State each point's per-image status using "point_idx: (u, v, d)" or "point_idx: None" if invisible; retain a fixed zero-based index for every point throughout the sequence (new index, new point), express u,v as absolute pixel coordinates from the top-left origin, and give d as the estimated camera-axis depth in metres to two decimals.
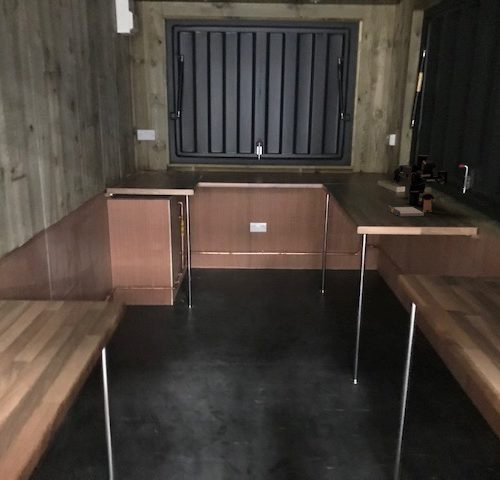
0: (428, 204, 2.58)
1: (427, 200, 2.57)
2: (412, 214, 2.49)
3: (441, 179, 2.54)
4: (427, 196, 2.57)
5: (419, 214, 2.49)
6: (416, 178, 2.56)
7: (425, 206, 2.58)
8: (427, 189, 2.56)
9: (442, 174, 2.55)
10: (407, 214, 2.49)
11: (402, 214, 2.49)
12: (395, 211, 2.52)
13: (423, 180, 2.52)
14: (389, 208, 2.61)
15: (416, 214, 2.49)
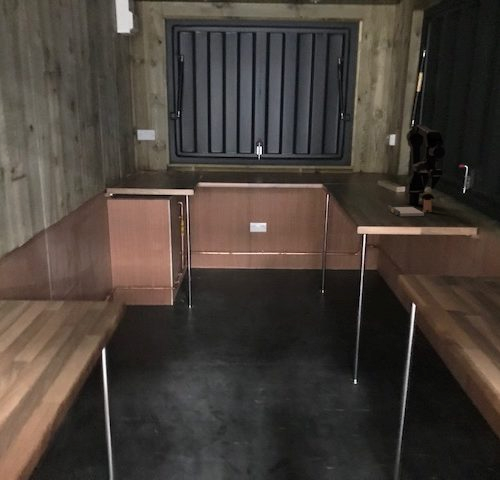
0: (428, 204, 2.58)
1: (427, 200, 2.57)
2: (412, 214, 2.49)
3: None
4: (427, 196, 2.57)
5: (419, 214, 2.49)
6: None
7: (425, 206, 2.58)
8: (427, 189, 2.56)
9: (430, 178, 2.49)
10: (407, 214, 2.49)
11: (402, 214, 2.49)
12: (395, 211, 2.52)
13: None
14: (389, 208, 2.61)
15: (416, 214, 2.49)
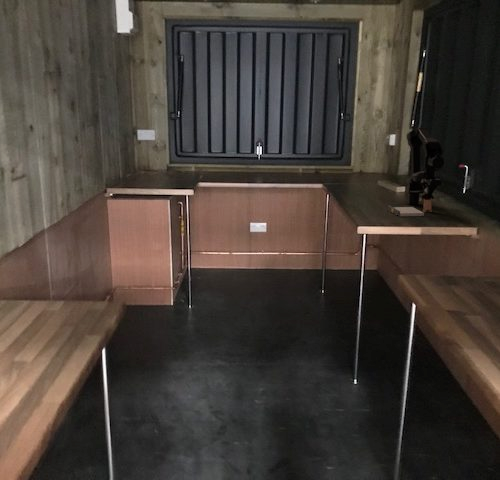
0: (428, 204, 2.58)
1: (427, 200, 2.57)
2: (412, 214, 2.49)
3: None
4: (427, 196, 2.57)
5: (419, 214, 2.49)
6: None
7: (425, 206, 2.58)
8: None
9: (427, 187, 2.53)
10: (407, 214, 2.49)
11: (402, 214, 2.49)
12: (395, 211, 2.52)
13: None
14: (389, 208, 2.61)
15: (416, 214, 2.49)
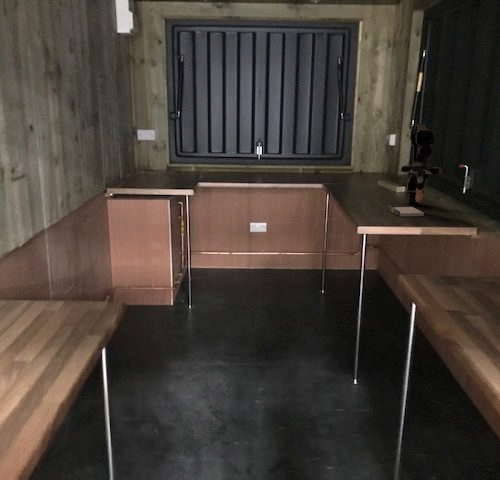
0: (421, 194, 2.55)
1: (421, 190, 2.54)
2: (412, 214, 2.49)
3: None
4: (421, 186, 2.53)
5: (419, 214, 2.49)
6: None
7: (419, 196, 2.55)
8: (421, 179, 2.52)
9: (425, 176, 2.50)
10: (407, 214, 2.49)
11: (402, 214, 2.49)
12: (395, 211, 2.52)
13: None
14: (389, 208, 2.61)
15: (416, 214, 2.49)
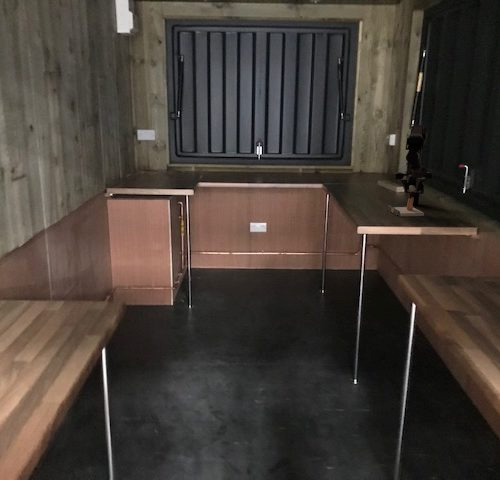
0: None
1: (413, 198, 2.54)
2: (412, 214, 2.49)
3: (417, 185, 2.53)
4: (413, 194, 2.53)
5: (419, 214, 2.49)
6: None
7: (412, 205, 2.54)
8: (414, 187, 2.52)
9: (421, 181, 2.50)
10: (407, 214, 2.49)
11: (402, 214, 2.49)
12: (395, 211, 2.52)
13: (404, 189, 2.53)
14: (389, 208, 2.61)
15: (416, 214, 2.49)
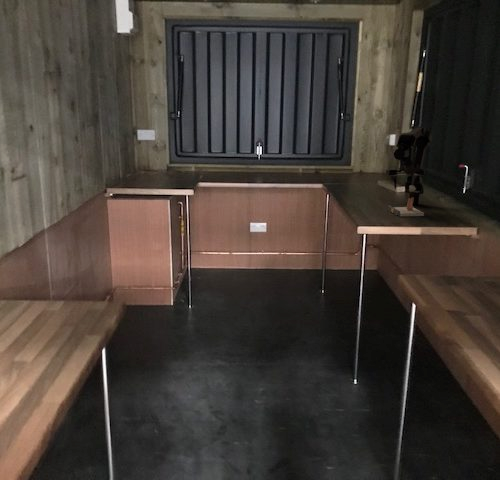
0: None
1: (413, 198, 2.54)
2: (412, 214, 2.49)
3: (413, 181, 2.63)
4: (413, 194, 2.53)
5: (419, 214, 2.49)
6: (391, 176, 2.60)
7: (412, 205, 2.54)
8: (414, 187, 2.52)
9: (417, 178, 2.60)
10: (407, 214, 2.49)
11: (402, 214, 2.49)
12: (395, 211, 2.52)
13: (394, 185, 2.62)
14: (389, 208, 2.61)
15: (416, 214, 2.49)
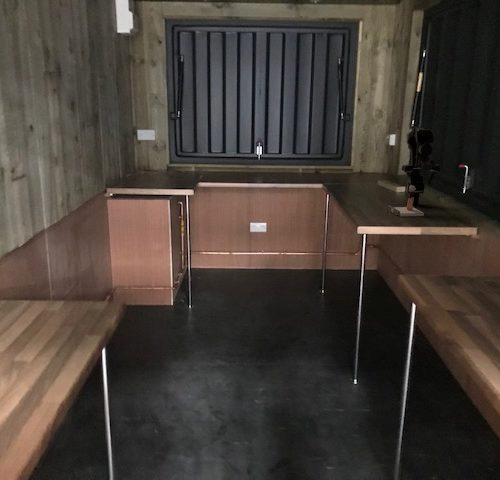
0: None
1: (413, 198, 2.54)
2: (412, 214, 2.49)
3: (429, 177, 2.62)
4: (413, 194, 2.53)
5: (419, 214, 2.49)
6: (407, 172, 2.59)
7: (412, 205, 2.54)
8: (414, 187, 2.52)
9: (433, 174, 2.59)
10: (407, 214, 2.49)
11: (402, 214, 2.49)
12: (395, 211, 2.52)
13: (410, 181, 2.61)
14: (389, 208, 2.61)
15: (416, 214, 2.49)
